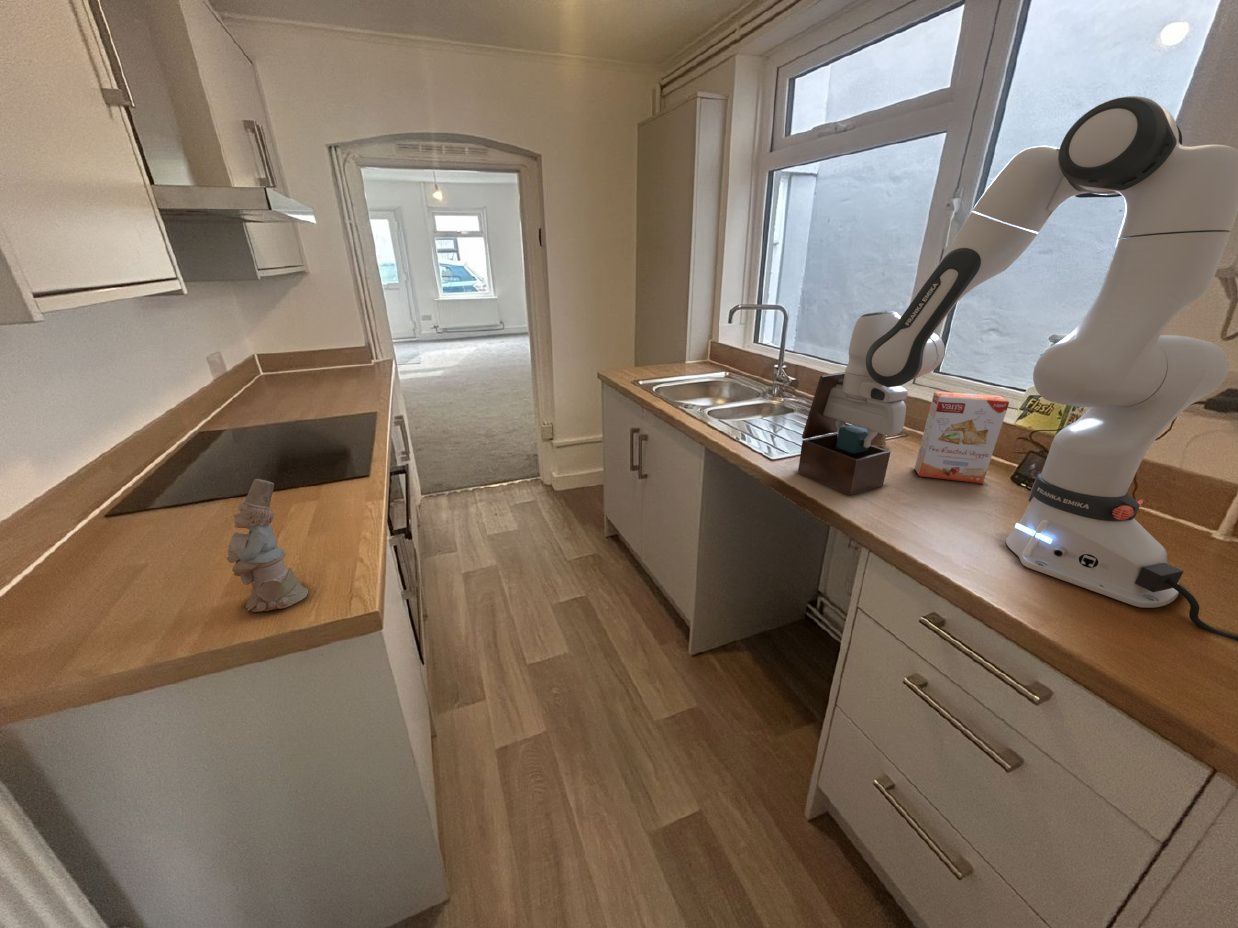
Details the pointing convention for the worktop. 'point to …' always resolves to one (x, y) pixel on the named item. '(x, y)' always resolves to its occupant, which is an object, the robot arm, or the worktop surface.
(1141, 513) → the worktop surface
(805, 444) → the chest
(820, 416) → the lid
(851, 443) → the block
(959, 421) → the cracker box
